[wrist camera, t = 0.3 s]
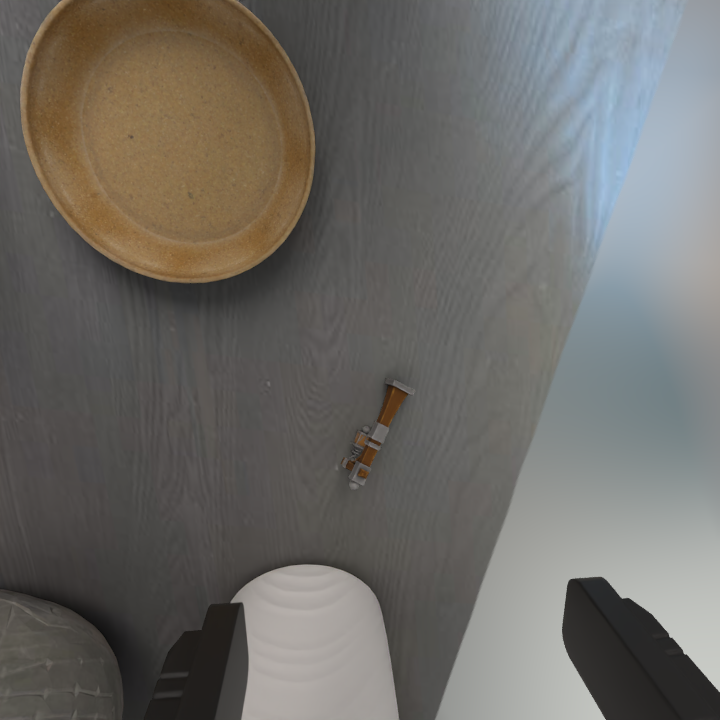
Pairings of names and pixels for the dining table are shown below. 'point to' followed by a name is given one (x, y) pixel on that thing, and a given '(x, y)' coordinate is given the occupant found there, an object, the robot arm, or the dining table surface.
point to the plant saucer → (168, 133)
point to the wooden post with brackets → (374, 434)
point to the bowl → (54, 664)
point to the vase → (315, 647)
